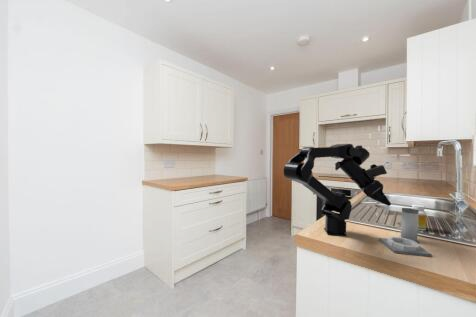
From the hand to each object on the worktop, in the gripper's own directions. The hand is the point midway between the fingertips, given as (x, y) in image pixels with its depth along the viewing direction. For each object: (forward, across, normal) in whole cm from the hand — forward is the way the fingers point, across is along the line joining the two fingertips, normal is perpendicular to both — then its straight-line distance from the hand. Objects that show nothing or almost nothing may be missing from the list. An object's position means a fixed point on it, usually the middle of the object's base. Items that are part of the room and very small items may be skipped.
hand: (386, 202), depth 78 cm
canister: (+14, 0, +4) cm, 14 cm away
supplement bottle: (+19, +16, -1) cm, 25 cm away
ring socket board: (+11, -9, +7) cm, 16 cm away
